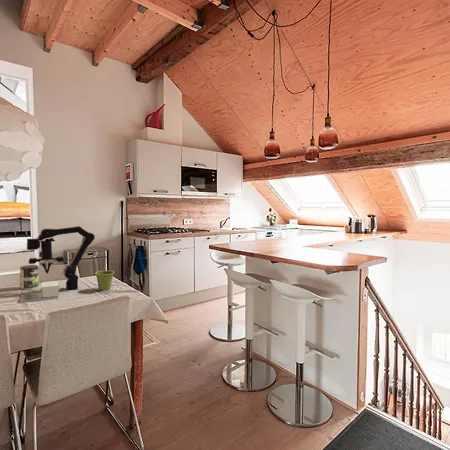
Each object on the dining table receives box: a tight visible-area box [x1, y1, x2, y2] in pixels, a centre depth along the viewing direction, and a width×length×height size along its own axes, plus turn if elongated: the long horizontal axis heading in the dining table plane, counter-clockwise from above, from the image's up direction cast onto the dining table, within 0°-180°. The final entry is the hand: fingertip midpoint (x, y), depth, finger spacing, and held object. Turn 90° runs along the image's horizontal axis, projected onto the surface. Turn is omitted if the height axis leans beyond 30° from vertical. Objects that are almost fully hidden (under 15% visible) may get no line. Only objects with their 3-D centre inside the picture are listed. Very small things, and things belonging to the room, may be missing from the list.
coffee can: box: [19, 264, 40, 290], centre depth 201 cm, size 10×10×14 cm
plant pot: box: [95, 270, 115, 291], centre depth 200 cm, size 12×12×11 cm
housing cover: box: [40, 280, 60, 298], centre depth 183 cm, size 9×13×6 cm
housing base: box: [18, 292, 59, 304], centre depth 181 cm, size 19×13×4 cm
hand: (47, 273), depth 191 cm, fingers closed
